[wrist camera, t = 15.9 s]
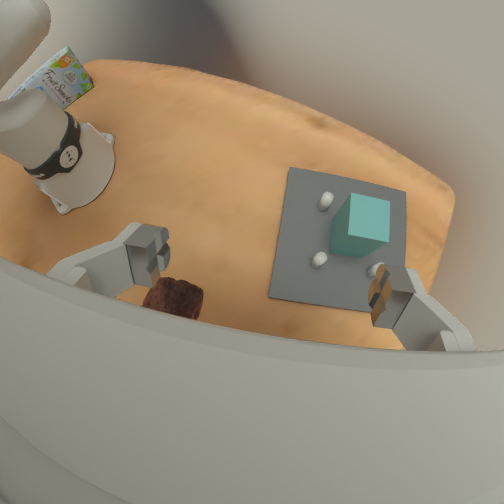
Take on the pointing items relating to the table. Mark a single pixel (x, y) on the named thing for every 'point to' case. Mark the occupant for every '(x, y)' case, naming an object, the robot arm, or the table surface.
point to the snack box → (59, 79)
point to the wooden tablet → (175, 298)
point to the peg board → (318, 240)
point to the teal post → (360, 226)
